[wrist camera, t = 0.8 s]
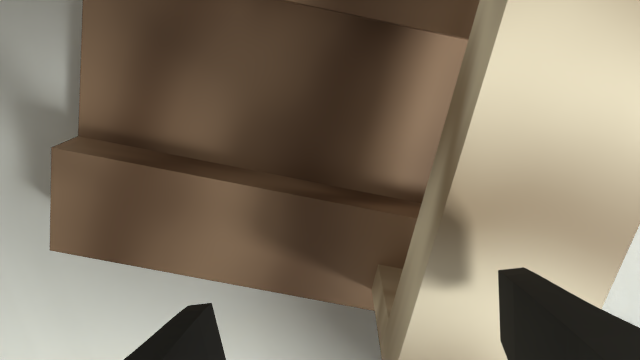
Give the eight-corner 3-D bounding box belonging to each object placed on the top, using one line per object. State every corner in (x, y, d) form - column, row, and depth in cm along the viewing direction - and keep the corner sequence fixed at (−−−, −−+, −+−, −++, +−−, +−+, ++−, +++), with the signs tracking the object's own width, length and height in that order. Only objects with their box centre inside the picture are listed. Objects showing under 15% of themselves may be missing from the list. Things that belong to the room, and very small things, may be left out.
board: (667, -44, 18) (729, -56, 15) (529, 305, 23) (557, 344, 20) (102, -167, 17) (56, -206, 14) (86, 221, 22) (49, 250, 19)
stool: (469, -78, 15) (550, -140, 10) (615, -46, 15) (780, -88, 10) (371, 289, 20) (387, 396, 14) (486, 310, 20) (548, 425, 14)
